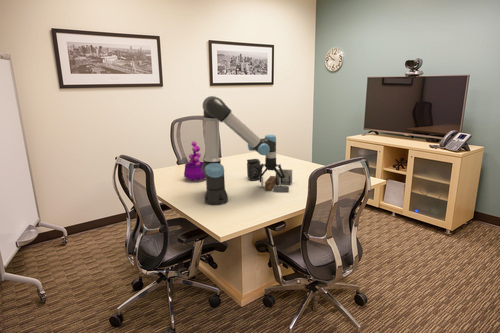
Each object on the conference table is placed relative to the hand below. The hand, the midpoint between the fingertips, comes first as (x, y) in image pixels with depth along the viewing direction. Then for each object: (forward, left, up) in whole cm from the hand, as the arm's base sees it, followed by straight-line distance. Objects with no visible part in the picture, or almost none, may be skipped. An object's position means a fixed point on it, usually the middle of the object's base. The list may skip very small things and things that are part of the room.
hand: (271, 186), depth 233 cm
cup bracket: (+8, +7, 0) cm, 11 cm away
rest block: (+8, -8, 0) cm, 11 cm away
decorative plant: (-60, +11, 0) cm, 61 cm away
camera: (-15, +17, 0) cm, 23 cm away
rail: (0, 0, 0) cm, 0 cm away
